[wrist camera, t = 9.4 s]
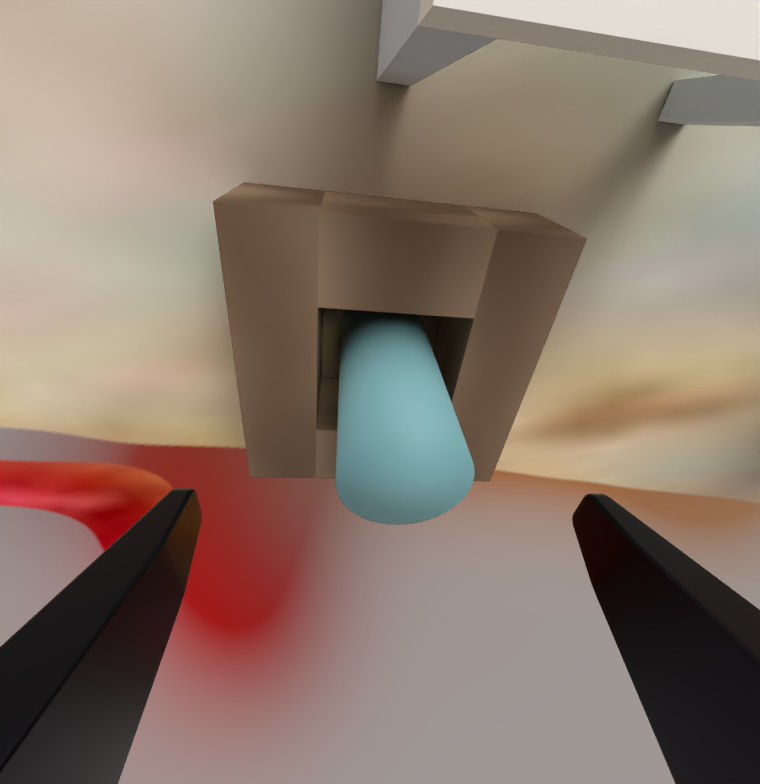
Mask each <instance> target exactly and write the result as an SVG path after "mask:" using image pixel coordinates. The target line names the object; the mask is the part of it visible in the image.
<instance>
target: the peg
mask: <svg viewBox="0 0 760 784" xmlns="http://www.w3.org/2000/svg"><path fill="white" fill-rule="evenodd" d="M474 474H475V470H474V464H473V460H472V458H471V455H470V452H469V449H468V447H467V444H466V441H465V438H464V436H463V433H462V430H461V427H460V425H459V422H458V419H457V416H456V414H455V411H454V408H453V405H452V403H451V400H450V397H449V394H448V392H447V389H446V386H445V383H444V381H443V378H442V375H441V372H440V370H439V367H438V364H437V361H436V359H435V356H434V353H433V350H432V348H431V345H430V342H429V339H428V337H427V334H426V331H425V328H424V326H423V323H422V320H421V317H420V315H418V314H404V313H390V312H376V311H361V310H348V311H347V313H346V314H345V316H344V319H343V321H342V325H341V340H340V369H339V398H338V427H337V456H336V490H337V493H338V496H339V498H340V500H341V501H342V503H343V504H344V505H345V506H346V507H347V508H348V509H349V510H351V511H352V512H353V513H355V514H356V515H358V516H360V517H362V518H364V519H367V520H370V521H373V522H378V523H383V524H395V525H400V524H412V523H418V522H422V521H426V520H429V519H432V518H435V517H437V516H439V515H441V514H443V513H445V512H447V511H449V510H450V509H452V508H453V507H454V506H456V505H457V504H458V503H459V502H460V501H461V500H462V499H463V498H464V497H465V496H466V494H467V493H468V491H469V490H470V488H471V486H472V483H473V480H474Z"/></svg>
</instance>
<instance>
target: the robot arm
mask: <svg viewBox="0 0 760 784" xmlns="http://www.w3.org/2000/svg"><path fill="white" fill-rule="evenodd" d="M201 517H202V515H201V509H200V506H199V502H198V498H197V494H196V492H195V490H194V489H189V488H186V489H185V488H177V489H173V490H172V491H170V492H169V493H168V494H167V495H166V496H165V497H164V498H162V499H161V500H160V501H159V502H158V503H157V504H156V505H155V506H154V507H153V508H152V509H150V510H149V511H148V512H147V513H146V514H145V515H144V516H143V517H142V518H141V519H139V520H138V521H137V522H136V523H135V524H134V525H133V526H132V527H131V528H130V529H129V530H127V531H126V532H125V533H124V534H123V535H122V536H121V537H120V538H119V539H118V540H117V541H115V542H114V543H113V544H112V545H111V546H110V547H109V548H108V549H107V550H106V551H105V552H103V553H102V554H101V555H100V556H99V557H98V558H97V559H96V560H95V561H94V562H93V563H92V564H90V565H89V566H88V567H87V568H86V569H85V570H84V571H83V572H82V573H81V574H79V575H78V576H77V577H76V578H75V579H74V580H73V581H72V582H71V583H70V584H69V585H67V587H65V588H64V589H63V590H62V591H61V592H60V593H59V594H58V595H56V596H55V597H54V598H53V599H52V600H51V601H50V602H49V603H48V604H47V605H46V606H44V608H42V609H41V610H40V611H39V612H38V613H37V614H36V615H35V616H34V617H32V618H31V619H30V620H29V621H28V622H27V623H26V624H25V625H24V626H23V627H22V628H20V629H19V630H18V631H17V632H16V633H15V634H14V635H13V636H12V637H11V638H10V639H8V640H7V641H6V642H5V643H4V644H3V645H2V646H1V647H0V784H118V782H119V779H120V776H121V773H122V771H123V768H124V765H125V762H126V759H127V756H128V753H129V751H130V748H131V745H132V742H133V739H134V736H135V734H136V731H137V728H138V725H139V722H140V719H141V716H142V713H143V710H144V708H145V705H146V702H147V699H148V697H149V694H150V691H151V688H152V685H153V682H154V679H155V677H156V674H157V671H158V668H159V665H160V662H161V659H162V657H163V654H164V651H165V648H166V645H167V642H168V640H169V637H170V634H171V631H172V628H173V625H174V622H175V619H176V616H177V614H178V611H179V608H180V605H181V602H182V599H183V596H184V593H185V588H186V585H187V580H188V576H189V572H190V568H191V563H192V559H193V554H194V550H195V546H196V542H197V537H198V533H199V529H200V525H201ZM572 521H573V526H574V529H575V533H576V535H577V539H578V542H579V545H580V549H581V552H582V555H583V558H584V561H585V564H586V568H587V571H588V574H589V577H590V580H591V583H592V586H593V588H594V591H595V594H596V596H597V599H598V601H599V603H600V606H601V608H602V610H603V613H604V615H605V618H606V620H607V622H608V625H609V627H610V629H611V632H612V634H613V636H614V639H615V641H616V644H617V646H618V648H619V651H620V653H621V655H622V658H623V660H624V662H625V665H626V667H627V670H628V672H629V674H630V677H631V679H632V682H633V684H634V686H635V689H636V691H637V693H638V696H639V698H640V701H641V703H642V705H643V708H644V710H645V713H646V715H647V717H648V720H649V722H650V724H651V727H652V729H653V732H654V734H655V736H656V739H657V741H658V743H659V746H660V748H661V751H662V753H663V755H664V758H665V760H666V762H667V765H668V767H669V770H670V772H671V774H672V777H673V779H674V781H675V784H760V610H759V609H758V608H756V607H755V606H754V605H752V604H751V603H750V602H748V601H747V600H746V599H744V598H743V597H742V596H740V595H739V594H738V593H736V592H735V591H734V590H732V589H731V588H730V587H728V586H727V585H726V584H724V583H723V582H722V581H720V580H719V579H718V578H716V577H715V576H714V575H712V574H711V573H710V572H708V571H707V570H706V569H704V568H703V567H702V566H700V565H699V564H698V563H696V562H695V561H694V560H692V559H691V558H690V557H688V556H687V555H686V554H684V553H683V552H682V551H680V550H679V549H678V548H676V547H675V546H674V545H672V544H671V543H670V542H668V541H667V540H666V539H664V538H663V537H662V536H660V535H659V534H658V533H656V532H655V531H654V530H652V529H651V528H650V527H648V526H647V525H646V524H644V523H643V522H642V521H640V520H639V519H638V518H636V517H635V516H634V515H632V514H631V513H630V512H628V511H627V510H626V509H624V508H623V507H622V506H620V505H619V504H618V503H616V502H615V501H614V500H612V499H611V498H610V497H608V496H606V495H604V494H587V495H585V497H584V498H583V499H582V501H581V503H580V504H579V506H578V508H577V509H576V510H575V512H574V514H573V518H572Z"/></svg>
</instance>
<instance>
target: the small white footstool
mask: <svg viewBox="0 0 760 784" xmlns="http://www.w3.org/2000/svg"><path fill="white" fill-rule="evenodd" d="M496 39H503V40H509V41H516V42H522V43H528V44H534V45H540V46H547V47H553V48H559V49H565V50H571V51H578V52H584V53H590V54H596V55H602V56H609V57H615V58H621V59H627V60H633V61H640V62H646V63H652V64H658V65H664V66H671V67H677V68H683V69H689V70H695V71H702V72H708V73H714V74H720V75H717V76H709V77H701V78H692V79H684V80H676V81H674V84H673V86H672V88H671V91H670V93H669V95H668V98H667V100H666V102H665V105H664V107H663V109H662V112H661V114H660V116H659V119H658V121H661V122H668V123H676V124H683V125H720V126H760V0H383V1H382V14H381V27H380V40H379V53H378V66H377V79H376V81H380V82H387V83H394V84H401V85H408V86H411V85H413V84H414V83H416V82H418V81H420V80H422V79H424V78H426V77H427V76H429V75H431V74H433V73H435V72H437V71H439V70H440V69H442V68H444V67H446V66H448V65H450V64H452V63H453V62H455V61H457V60H459V59H461V58H463V57H465V56H466V55H468V54H470V53H472V52H474V51H476V50H478V49H479V48H481V47H483V46H485V45H487V44H489V43H491V42H492V41H494V40H496Z"/></svg>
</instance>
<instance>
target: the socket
mask: <svg viewBox="0 0 760 784" xmlns="http://www.w3.org/2000/svg"><path fill="white" fill-rule="evenodd" d="M213 205H214V213H215V220H216V228H217V235H218V242H219V250H220V257H221V265H222V272H223V280H224V287H225V295H226V302H227V309H228V317H229V324H230V332H231V339H232V347H233V354H234V362H235V369H236V377H237V384H238V391H239V399H240V406H241V414H242V421H243V429H244V436H245V444H246V451H247V458H248V466H249V473H250V477H281V478H282V477H283V478H335V479H336V456H337V427H338V398H339V378H322V334H323V308H333V309H347V310H361V311H376V312H390V313H404V314H418V315H432V316H442V318H441V322H440V327H439V332H438V336H437V341H436V346H435V350H434V356H435V359H436V361H437V364H438V367H439V370H440V372H441V375H442V378H443V381H444V383H445V386H446V389H447V392H448V394H449V397H450V400H451V403H452V405H453V408H454V411H455V414H456V416H457V419H458V422H459V425H460V427H461V430H462V433H463V436H464V438H465V441H466V444H467V447H468V449H469V452H470V455H471V458H472V460H473V464H474V470H475V474H474V480H473V481H490V480H491V477H492V475H493V472H494V470H495V467H496V465H497V462H498V460H499V457H500V455H501V452H502V450H503V447H504V445H505V442H506V440H507V437H508V435H509V432H510V430H511V427H512V425H513V422H514V420H515V417H516V415H517V412H518V410H519V407H520V405H521V402H522V400H523V397H524V395H525V392H526V390H527V387H528V385H529V382H530V380H531V377H532V375H533V372H534V370H535V367H536V365H537V362H538V360H539V357H540V355H541V352H542V350H543V347H544V345H545V342H546V340H547V337H548V335H549V332H550V330H551V327H552V325H553V322H554V320H555V317H556V315H557V312H558V310H559V307H560V305H561V302H562V300H563V297H564V295H565V292H566V290H567V287H568V285H569V282H570V280H571V277H572V275H573V272H574V270H575V267H576V265H577V262H578V260H579V257H580V255H581V252H582V250H583V247H584V245H585V242H586V240H587V239H586V238H584V237H582V236H580V235H578V234H576V233H574V232H572V231H570V230H568V229H566V228H564V227H562V226H560V225H558V224H556V223H554V222H552V221H550V220H548V219H546V218H544V217H542V216H540V215H538V214H535V213H526V212H517V211H507V210H498V209H488V208H479V207H469V206H460V205H451V204H441V203H432V202H422V201H413V200H403V199H394V198H385V197H375V196H366V195H356V194H347V193H338V192H328V191H319V190H309V189H300V188H290V187H281V186H272V185H262V184H253V183H243V184H241V185H239V186H238V187H236V188H234V189H233V190H231V191H229V192H228V193H226V194H225V195H223V196H221V197H220V198H218V199H216V200H215V201H213Z"/></svg>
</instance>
